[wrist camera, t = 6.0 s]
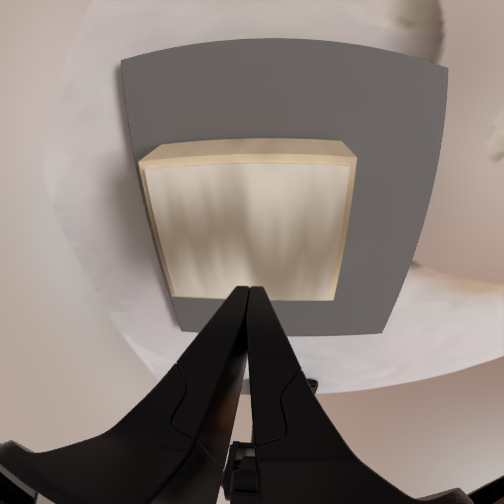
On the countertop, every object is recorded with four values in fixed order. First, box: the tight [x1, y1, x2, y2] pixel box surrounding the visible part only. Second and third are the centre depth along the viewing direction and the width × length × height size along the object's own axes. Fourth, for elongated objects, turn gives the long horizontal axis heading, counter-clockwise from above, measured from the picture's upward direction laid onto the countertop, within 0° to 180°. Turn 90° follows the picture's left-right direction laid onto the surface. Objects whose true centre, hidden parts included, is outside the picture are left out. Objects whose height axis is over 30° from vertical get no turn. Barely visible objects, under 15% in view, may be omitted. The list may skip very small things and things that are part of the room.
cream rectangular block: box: [138, 138, 357, 301], centre depth 12 cm, size 7×3×8 cm
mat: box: [121, 38, 448, 336], centre depth 14 cm, size 18×15×1 cm
